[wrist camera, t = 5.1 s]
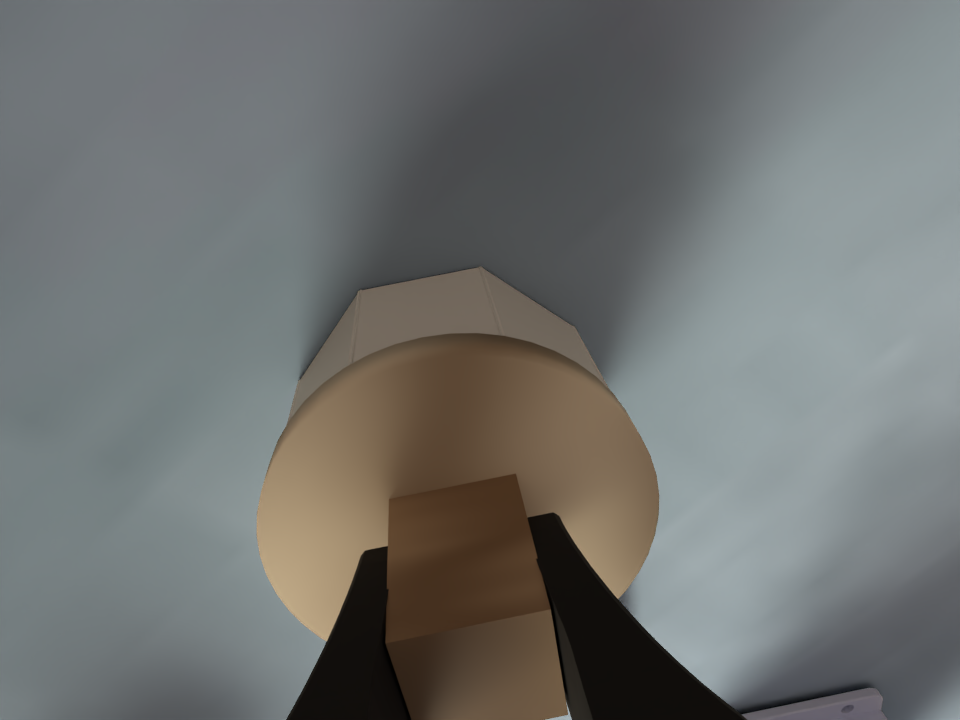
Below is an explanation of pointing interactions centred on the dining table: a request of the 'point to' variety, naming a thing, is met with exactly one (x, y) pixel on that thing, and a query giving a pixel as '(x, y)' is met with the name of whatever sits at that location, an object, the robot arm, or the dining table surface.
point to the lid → (457, 510)
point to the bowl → (438, 322)
